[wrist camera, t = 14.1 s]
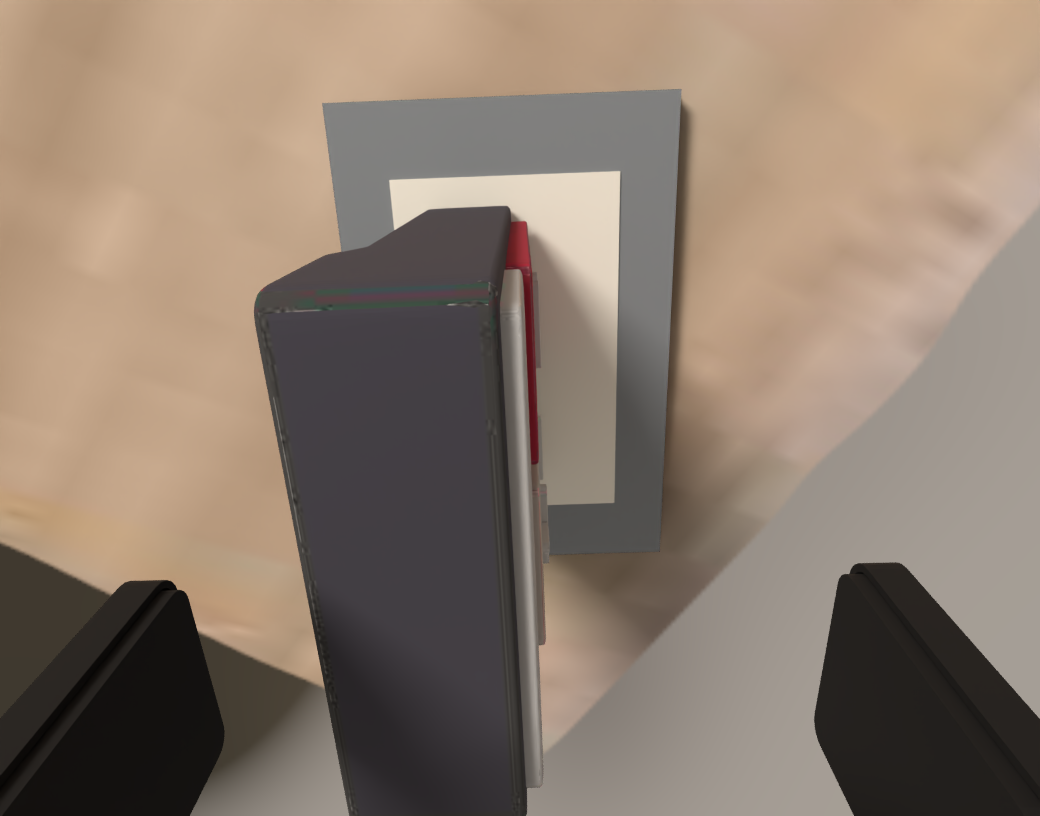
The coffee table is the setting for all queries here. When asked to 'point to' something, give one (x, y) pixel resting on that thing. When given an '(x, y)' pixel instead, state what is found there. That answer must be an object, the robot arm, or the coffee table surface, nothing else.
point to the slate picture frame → (553, 267)
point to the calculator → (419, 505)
